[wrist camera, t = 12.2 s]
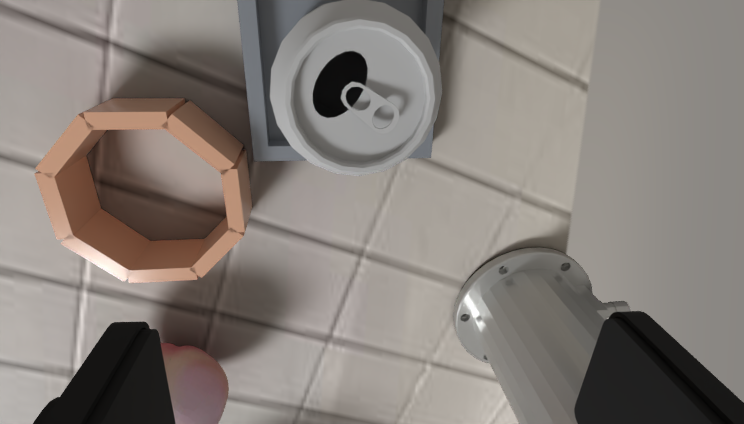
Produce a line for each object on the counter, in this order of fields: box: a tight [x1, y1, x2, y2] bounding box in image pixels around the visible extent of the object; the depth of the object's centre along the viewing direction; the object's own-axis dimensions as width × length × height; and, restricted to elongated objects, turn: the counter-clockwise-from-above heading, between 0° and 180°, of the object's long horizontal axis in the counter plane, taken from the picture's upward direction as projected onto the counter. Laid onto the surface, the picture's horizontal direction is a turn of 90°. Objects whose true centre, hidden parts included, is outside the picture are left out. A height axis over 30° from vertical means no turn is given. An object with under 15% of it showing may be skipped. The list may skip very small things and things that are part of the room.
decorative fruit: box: [161, 343, 229, 424], centre depth 33 cm, size 9×8×10 cm
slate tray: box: [237, 0, 444, 161], centre depth 27 cm, size 12×12×2 cm
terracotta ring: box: [35, 98, 253, 283], centre depth 28 cm, size 12×12×4 cm
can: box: [270, 0, 442, 176], centre depth 22 cm, size 8×8×12 cm
